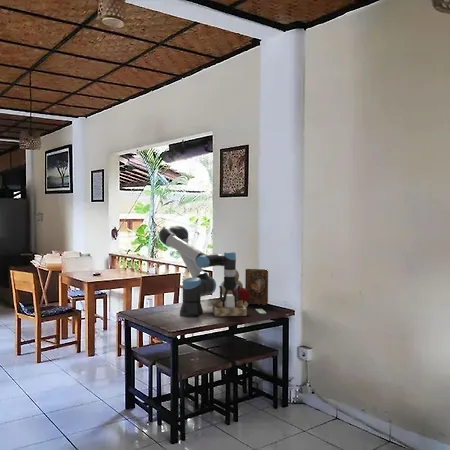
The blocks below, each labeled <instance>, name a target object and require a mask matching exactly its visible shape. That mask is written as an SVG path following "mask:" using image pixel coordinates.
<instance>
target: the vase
mask: <svg viewBox="0 0 450 450" xmlns="http://www.w3.org/2000/svg"><path fill="white" fill-rule="evenodd" d="M235 277H236V285H239V286H240V288H241V287H242V288H244V285H243V282H242V281H241V280H240V279H239V278H240V273H239V271H238V270H237V269H236V275H235ZM223 284H224V280H223V281H222V282H221V283H220V285H223ZM235 289H237V288H236V287H235V288H234V290H235ZM224 293H225V287H223V289H222V298H223V297H224ZM227 294H232V291H231V290H229V291H228V292H227Z"/></svg>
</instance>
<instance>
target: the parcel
mask: <svg viewBox="0 0 450 450" xmlns="http://www.w3.org/2000/svg"><path fill="white" fill-rule="evenodd" d="M225 302H226V308H234V296H233V294H227V295H226V299H225Z"/></svg>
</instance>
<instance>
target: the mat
mask: <svg viewBox="0 0 450 450" xmlns="http://www.w3.org/2000/svg"><path fill="white" fill-rule="evenodd" d="M255 311H256V312H258V313H259V314H261V315H267V312H266V311H265V310H264V309H263V308H255Z"/></svg>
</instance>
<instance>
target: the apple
mask: <svg viewBox="0 0 450 450" xmlns="http://www.w3.org/2000/svg"><path fill="white" fill-rule="evenodd" d="M234 292H235V296H236V299H237V289H235V290H234ZM249 295H250V293H249V291H248V290H247V289H245V287H243V288H242V287H241V288H240V289H239V300H243V305H244V302H245V301H246V302H248V299H249Z"/></svg>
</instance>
